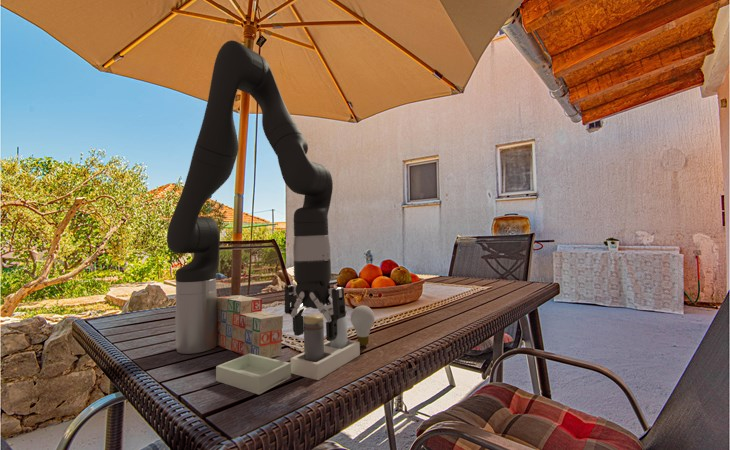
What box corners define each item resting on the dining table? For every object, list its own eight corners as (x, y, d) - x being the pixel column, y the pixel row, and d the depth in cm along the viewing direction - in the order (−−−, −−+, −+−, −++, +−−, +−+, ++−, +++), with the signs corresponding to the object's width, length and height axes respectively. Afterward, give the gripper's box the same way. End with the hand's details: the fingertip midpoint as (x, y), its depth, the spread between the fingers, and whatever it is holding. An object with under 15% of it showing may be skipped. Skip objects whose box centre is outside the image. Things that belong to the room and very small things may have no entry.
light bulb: (372, 351, 80) (371, 308, 80) (348, 350, 81) (347, 308, 82) (377, 343, 86) (375, 303, 86) (354, 342, 87) (353, 303, 87)
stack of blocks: (282, 355, 79) (283, 302, 80) (258, 362, 74) (260, 305, 76) (236, 339, 93) (238, 294, 94) (213, 344, 89) (216, 296, 90)
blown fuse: (300, 372, 69) (299, 317, 69) (313, 365, 72) (312, 313, 72) (316, 376, 67) (314, 320, 67) (328, 369, 70) (327, 315, 70)
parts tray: (216, 380, 66) (216, 366, 66) (249, 366, 73) (249, 353, 73) (258, 394, 60) (258, 378, 60) (291, 377, 66) (290, 363, 67)
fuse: (326, 358, 76) (325, 309, 76) (337, 353, 79) (336, 305, 80) (341, 361, 74) (339, 311, 74) (351, 355, 77) (350, 307, 78)
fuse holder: (290, 373, 69) (290, 358, 69) (335, 350, 81) (334, 337, 81) (317, 380, 65) (317, 364, 65) (359, 355, 78) (359, 341, 78)
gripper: (273, 259, 71) (276, 338, 70) (328, 259, 63) (331, 347, 63) (298, 256, 77) (301, 328, 76) (350, 256, 69) (354, 336, 69)
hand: (314, 337), depth 69 cm, fingers open, 8 cm apart
